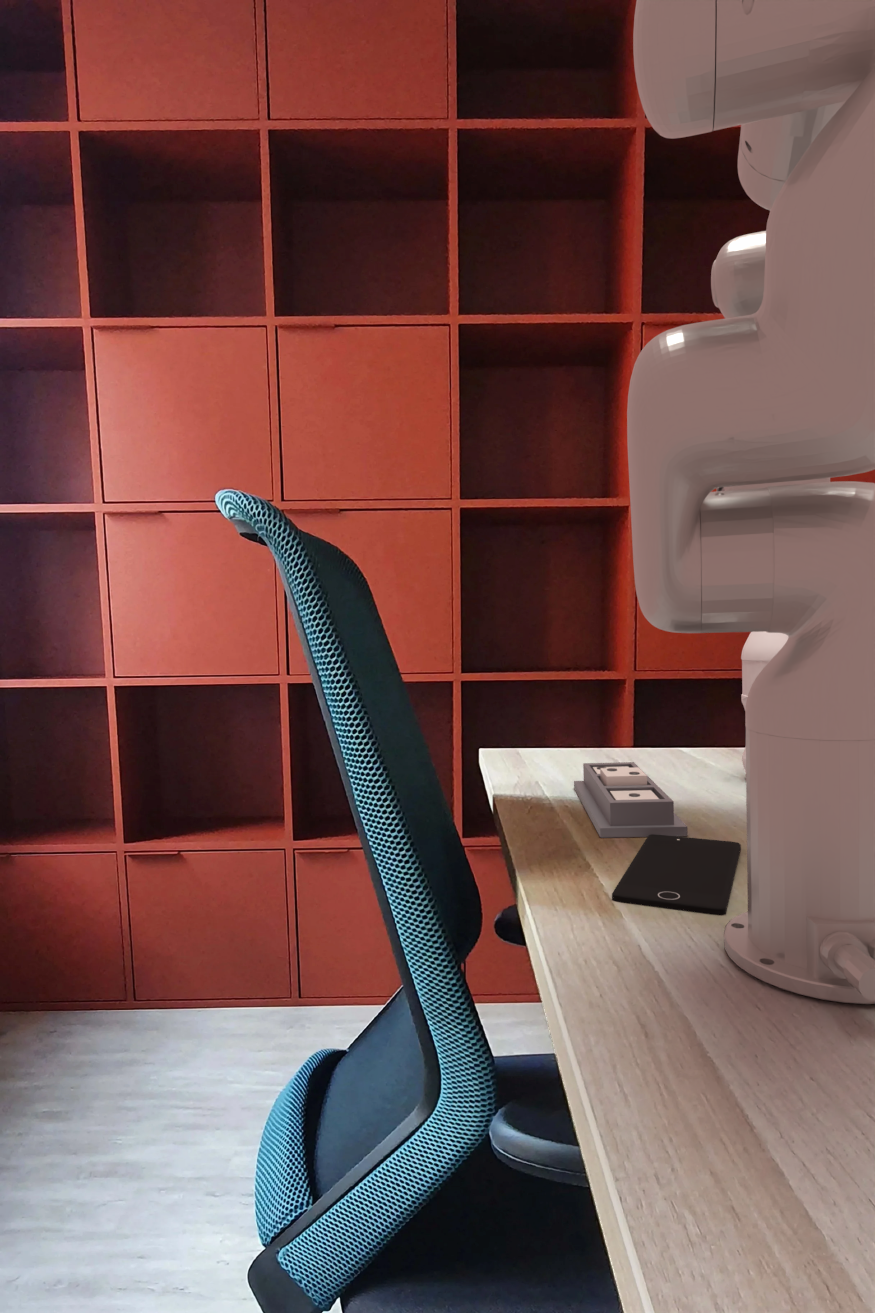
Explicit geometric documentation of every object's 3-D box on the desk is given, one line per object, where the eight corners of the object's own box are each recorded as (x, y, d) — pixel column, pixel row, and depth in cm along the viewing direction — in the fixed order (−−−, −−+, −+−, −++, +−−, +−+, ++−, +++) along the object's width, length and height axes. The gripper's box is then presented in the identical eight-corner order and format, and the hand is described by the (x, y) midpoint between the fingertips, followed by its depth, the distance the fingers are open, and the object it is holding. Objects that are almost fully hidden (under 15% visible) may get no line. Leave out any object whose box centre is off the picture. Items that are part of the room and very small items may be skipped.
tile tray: (687, 836, 79) (687, 802, 79) (600, 837, 80) (599, 804, 79) (642, 786, 101) (641, 760, 101) (574, 788, 102) (573, 762, 101)
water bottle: (789, 774, 105) (787, 593, 104) (809, 786, 98) (808, 592, 97) (735, 775, 106) (733, 595, 104) (751, 787, 99) (749, 594, 97)
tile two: (647, 792, 88) (646, 774, 88) (607, 793, 88) (606, 775, 88) (638, 783, 92) (638, 766, 92) (600, 784, 93) (600, 767, 92)
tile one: (660, 818, 81) (660, 799, 81) (617, 819, 82) (617, 800, 82) (651, 807, 86) (650, 789, 86) (610, 808, 86) (609, 790, 86)
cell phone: (610, 905, 63) (610, 894, 63) (649, 842, 79) (649, 833, 79) (725, 921, 59) (725, 909, 59) (741, 851, 75) (741, 841, 75)
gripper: (706, 385, 75) (708, 573, 76) (863, 377, 74) (863, 568, 75) (685, 406, 82) (688, 576, 83) (827, 399, 81) (828, 571, 82)
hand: (771, 572), depth 79 cm, fingers closed
